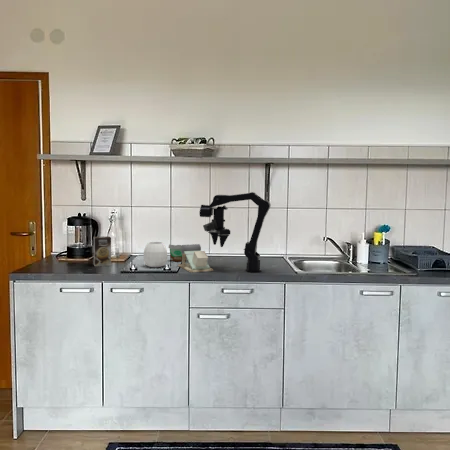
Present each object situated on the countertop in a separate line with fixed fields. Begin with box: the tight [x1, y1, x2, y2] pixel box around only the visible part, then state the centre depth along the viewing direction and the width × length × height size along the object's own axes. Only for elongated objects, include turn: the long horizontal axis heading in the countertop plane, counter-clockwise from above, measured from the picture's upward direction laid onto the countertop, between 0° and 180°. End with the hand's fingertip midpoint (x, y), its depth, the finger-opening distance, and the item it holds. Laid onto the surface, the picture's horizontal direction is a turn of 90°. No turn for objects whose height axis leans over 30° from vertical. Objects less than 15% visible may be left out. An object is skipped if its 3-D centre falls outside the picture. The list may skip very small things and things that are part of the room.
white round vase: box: [143, 241, 168, 268], centre depth 266 cm, size 13×13×14 cm
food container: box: [167, 243, 187, 263], centre depth 284 cm, size 12×6×10 cm, turn 101°
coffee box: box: [93, 236, 112, 267], centre depth 266 cm, size 9×6×16 cm
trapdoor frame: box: [177, 254, 214, 273], centre depth 262 cm, size 13×20×8 cm
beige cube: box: [192, 250, 209, 267], centre depth 256 cm, size 6×6×6 cm
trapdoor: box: [181, 243, 211, 270], centre depth 262 cm, size 10×20×5 cm, turn 25°
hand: (218, 245), depth 261 cm, fingers open, 9 cm apart
